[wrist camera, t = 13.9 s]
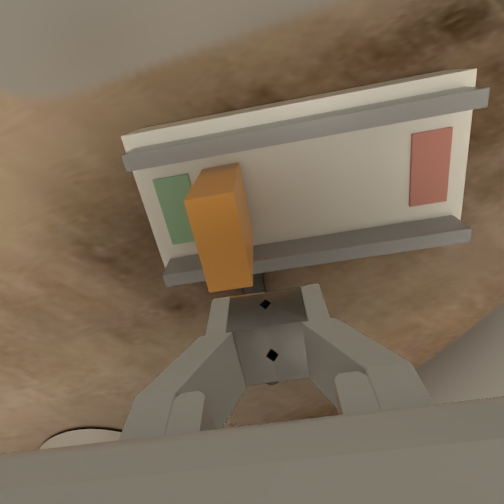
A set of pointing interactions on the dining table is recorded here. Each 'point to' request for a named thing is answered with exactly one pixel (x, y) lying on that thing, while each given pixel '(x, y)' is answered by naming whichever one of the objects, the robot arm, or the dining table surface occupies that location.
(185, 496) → the robot arm
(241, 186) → the toggle
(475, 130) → the dining table surface
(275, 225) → the switch box
